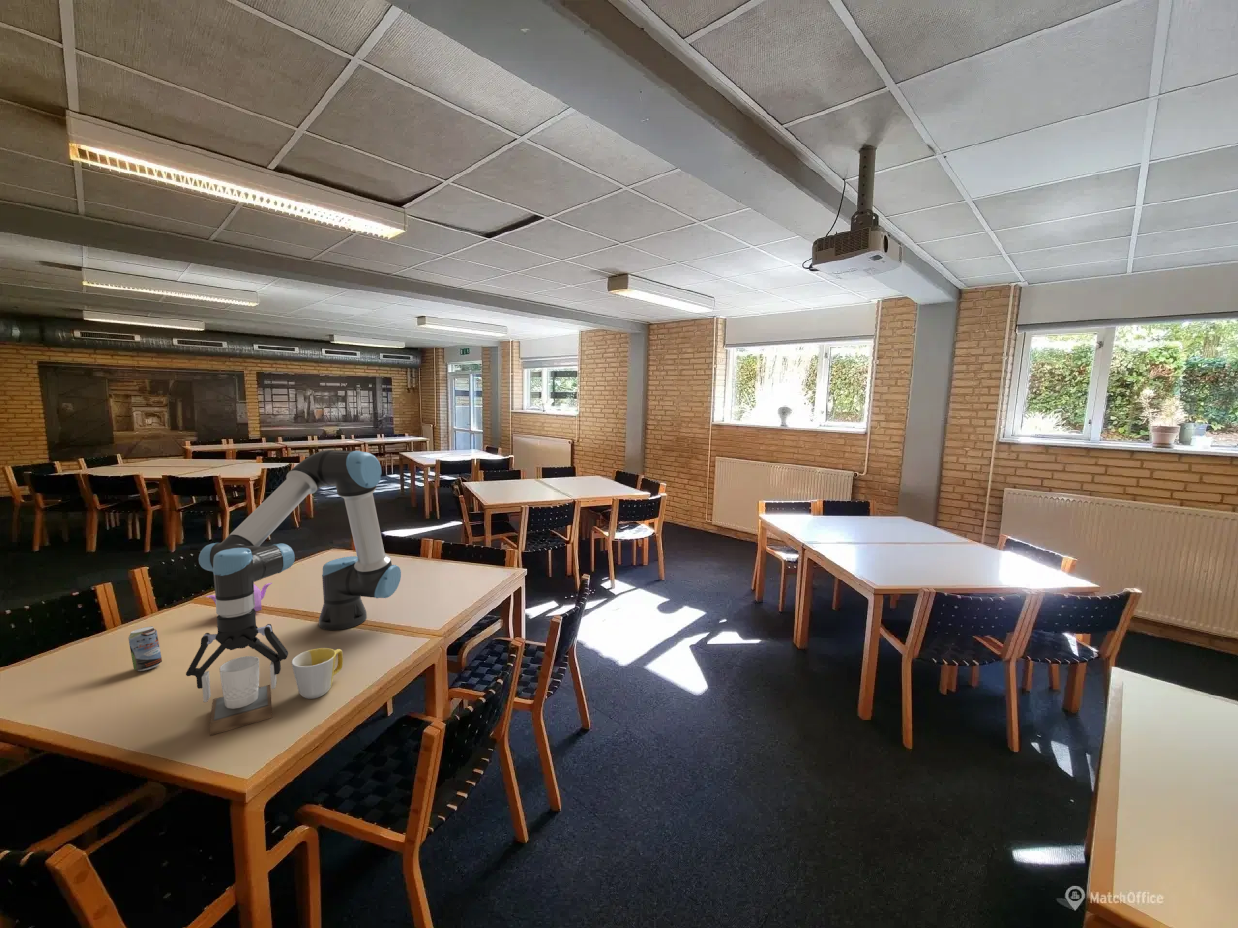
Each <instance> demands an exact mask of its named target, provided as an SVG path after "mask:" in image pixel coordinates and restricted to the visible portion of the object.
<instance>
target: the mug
mask: <svg viewBox="0 0 1238 928" xmlns="http://www.w3.org/2000/svg"><path fill="white" fill-rule="evenodd" d="M343 655H344V654H343V650H342V649H340V648H337V649H333V648H330V647H329V648H328V647H320V648H319V647H318V648H314V649H309V650H305V651H303V652H301V653H299V654H297V655H296V656H294V657H293V659H292V660H291V667H292V671H293V675H294V679H295V684H296V686H297V690H298V694H299V695H300V696H301V697H303V698H304V699H307V700H308V699H309V700H310V699H317V698H320V697H323V696H324V695H326V694H327V693H328V691H330V689H331V688H332V686H333V680H334V676H335V675H337V674H338V673H339V672H340V671H341V670H342V668H343V663H344V657H343ZM336 660H337V665H336ZM335 665H336V666H335Z"/></svg>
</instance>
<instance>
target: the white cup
mask: <svg viewBox="0 0 1238 928" xmlns="http://www.w3.org/2000/svg"><path fill="white" fill-rule="evenodd" d="M219 675H220V682H221V690H222V697H223V696H224V702H225V706H226V707H227V708H230V709H236V708H241V707H244V706H247V705H249V704H251V703H253V702H255V701H256V700H257V699H258V695H259V691H258V688H259V687H260V658H259V657H258V656H253V655H246V656H245V655H244V656H239V657H236V658H234V659H233V658H232V659H230V660H227V661H225V662H224V663H223V664H222V665H220V667H219Z"/></svg>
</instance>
